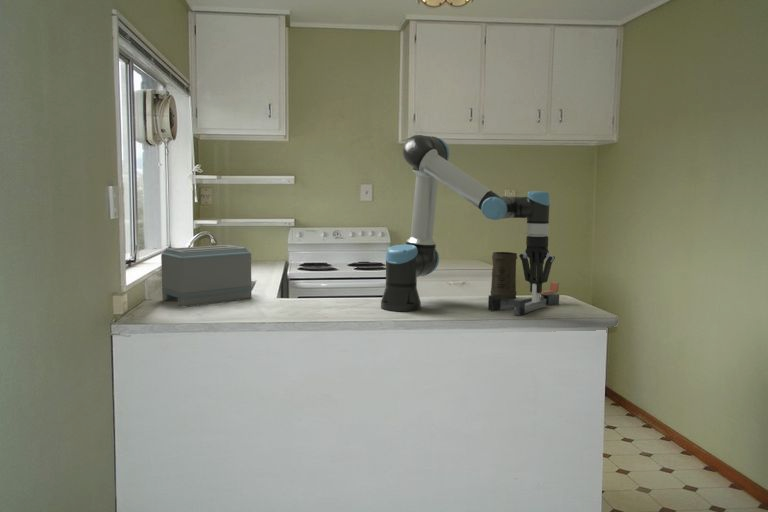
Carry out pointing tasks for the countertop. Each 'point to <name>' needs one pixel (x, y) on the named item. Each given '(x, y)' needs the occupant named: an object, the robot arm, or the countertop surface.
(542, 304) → the tong arm
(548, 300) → the tongs base
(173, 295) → the toaster
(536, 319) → the countertop surface
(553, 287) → the lock tab
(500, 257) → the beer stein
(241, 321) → the countertop surface
